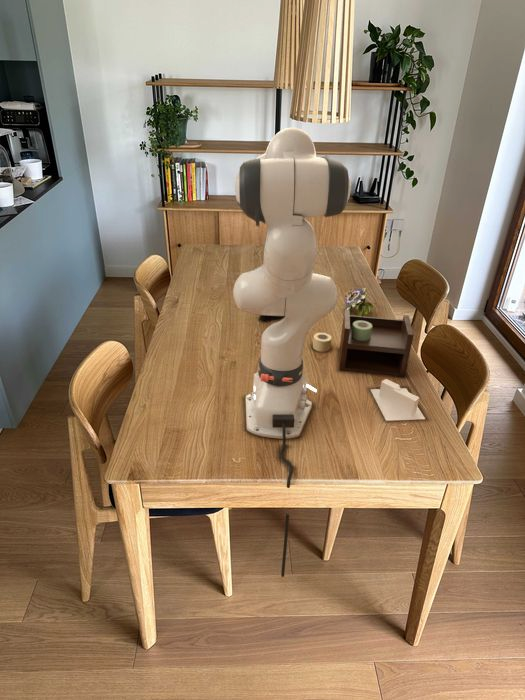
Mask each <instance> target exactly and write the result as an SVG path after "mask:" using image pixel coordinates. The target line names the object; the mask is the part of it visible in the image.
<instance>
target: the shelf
mask: <svg viewBox="0 0 525 700" xmlns="http://www.w3.org/2000/svg"><path fill="white" fill-rule="evenodd" d="M355 321H367V322H369V323H371V324H372V332H371V338H370V339H369V340H366V341H360V340H356V339H354V338H353V337H352V336H351V333H352V326H353V323H354V322H355ZM414 335H415V334H414V330H413V327H412V323H411V320H410V315H403V317H402V319H397V318H396V319H395V318H383V317H373V316H365V317H364V315H363V316H362V315H361V316H358V315H353V314H352V315H351V310H346V309H344V312H343V319H342V327H341V335H340V341H339V351H338V353H339V355H338V356H339V357H338V371H340V372H350V373H358V374H369V375H378V376H388V377H398V378H399V377H400V378H405V377H406V374H407V369H408V365H409V359H410V354H411V350H412V345H413V340H414Z"/></svg>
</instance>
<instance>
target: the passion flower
mask: <svg viewBox="0 0 525 700" xmlns="http://www.w3.org/2000/svg"><path fill="white" fill-rule="evenodd" d="M366 291H367V287H364V288H356V289H353V288H351V289H349V290H348V291H347V292H346V293H345V298H346V299H345V305H346V307H347V308H345V310H350V311H351V310H352V309H353V308H356V311H357V316H362V315H363V317H368V315H370V314H371V309H374V310H375V309H376V307H377V302H373V303H372V302H368V301H366V298H367V295H366V294H365V293H366ZM373 304H374V305H373Z"/></svg>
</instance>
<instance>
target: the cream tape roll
mask: <svg viewBox="0 0 525 700" xmlns="http://www.w3.org/2000/svg"><path fill="white" fill-rule="evenodd" d="M332 339H333V338H332V335H330V334H329V333H325V332H317V333H315V334H313V340H312V348H313V350H314V351H317V352H321V353H324V352H325V353H326V352H328V351H330V350H331V348H332V347H331V345H332Z"/></svg>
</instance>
